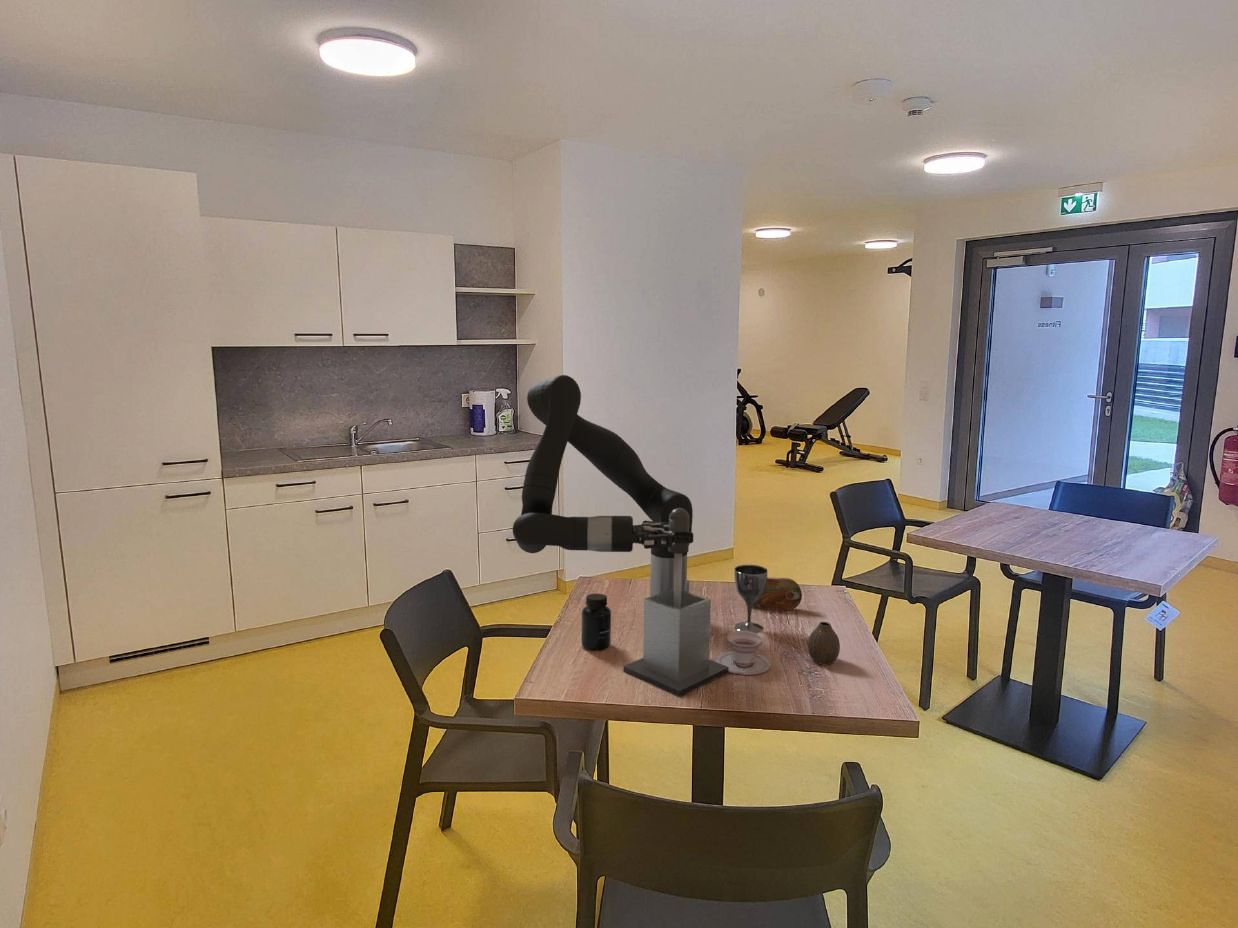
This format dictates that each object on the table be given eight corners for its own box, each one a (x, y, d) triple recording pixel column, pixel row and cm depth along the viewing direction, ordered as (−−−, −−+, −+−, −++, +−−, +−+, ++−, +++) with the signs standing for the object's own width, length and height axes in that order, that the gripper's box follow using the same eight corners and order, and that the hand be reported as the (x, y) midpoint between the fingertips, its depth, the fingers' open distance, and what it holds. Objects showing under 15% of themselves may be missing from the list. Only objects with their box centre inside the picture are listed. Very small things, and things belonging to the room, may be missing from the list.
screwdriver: (675, 612, 166) (677, 502, 162) (702, 622, 160) (705, 508, 156) (651, 622, 160) (652, 507, 156) (678, 632, 155) (681, 514, 151)
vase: (839, 656, 170) (842, 620, 169) (838, 669, 164) (840, 631, 162) (808, 652, 173) (810, 616, 171) (805, 664, 166) (807, 627, 165)
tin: (743, 607, 201) (744, 577, 200) (743, 603, 204) (745, 573, 203) (801, 612, 198) (802, 581, 196) (801, 608, 201) (802, 577, 199)
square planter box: (672, 650, 173) (674, 581, 171) (728, 672, 162) (730, 599, 159) (623, 671, 162) (623, 598, 159) (679, 696, 151) (681, 618, 148)
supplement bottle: (607, 653, 172) (607, 602, 170) (578, 650, 173) (578, 600, 171) (613, 641, 178) (613, 592, 176) (585, 638, 180) (585, 590, 178)
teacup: (766, 679, 159) (767, 652, 158) (710, 671, 163) (711, 644, 162) (773, 657, 170) (774, 631, 169) (721, 649, 174) (722, 624, 173)
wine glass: (729, 630, 185) (731, 572, 182) (736, 619, 192) (738, 563, 190) (761, 635, 182) (763, 576, 180) (767, 624, 189) (770, 566, 187)
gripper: (609, 524, 149) (695, 525, 149) (610, 508, 164) (689, 509, 163) (609, 561, 151) (695, 561, 151) (610, 541, 165) (689, 542, 165)
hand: (691, 534), depth 157 cm, fingers closed on screwdriver, 4 cm apart
